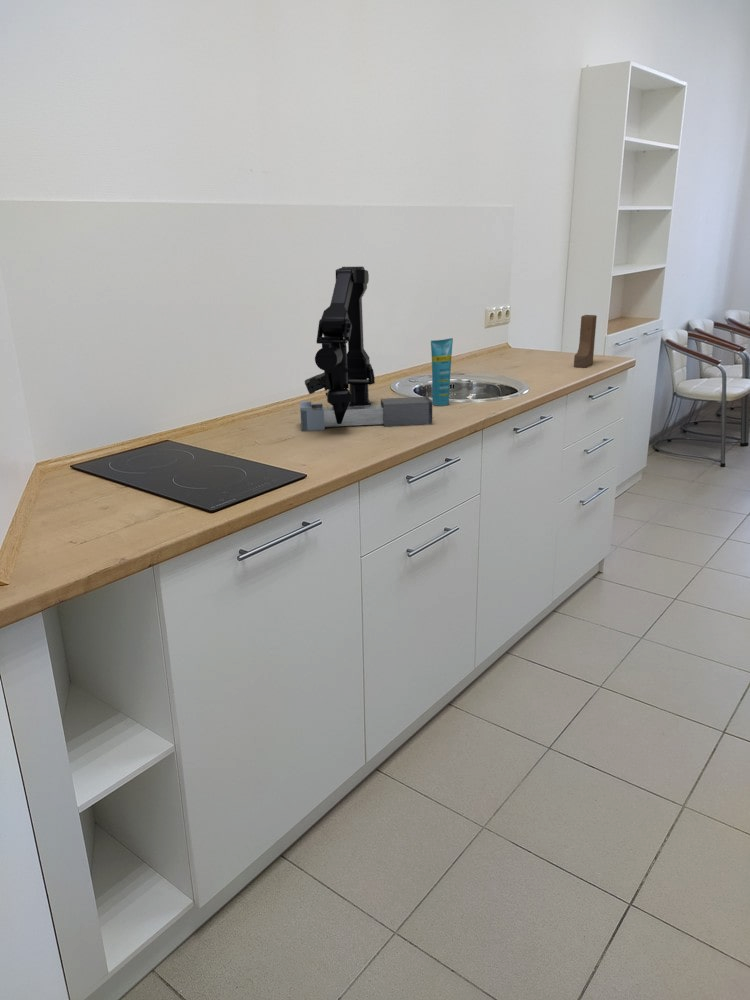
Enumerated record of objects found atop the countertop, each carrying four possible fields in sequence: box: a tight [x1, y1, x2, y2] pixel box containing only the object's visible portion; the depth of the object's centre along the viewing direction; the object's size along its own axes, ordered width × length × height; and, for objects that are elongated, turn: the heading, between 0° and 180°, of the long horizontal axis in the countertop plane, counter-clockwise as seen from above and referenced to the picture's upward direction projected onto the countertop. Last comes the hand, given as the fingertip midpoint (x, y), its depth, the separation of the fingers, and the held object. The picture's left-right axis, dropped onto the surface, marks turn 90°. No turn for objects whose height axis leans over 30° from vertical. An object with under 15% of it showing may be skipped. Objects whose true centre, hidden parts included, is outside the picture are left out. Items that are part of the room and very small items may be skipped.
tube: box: [430, 337, 454, 407], centre depth 216 cm, size 7×5×19 cm, turn 123°
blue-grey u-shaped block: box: [299, 400, 325, 432], centre depth 196 cm, size 8×6×6 cm
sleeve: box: [380, 396, 433, 427], centre depth 199 cm, size 7×13×6 cm, turn 97°
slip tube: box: [312, 404, 384, 428], centre depth 198 cm, size 4×22×4 cm, turn 97°
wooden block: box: [573, 314, 598, 369], centre depth 270 cm, size 9×4×18 cm, turn 147°
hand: (338, 421), depth 198 cm, fingers closed on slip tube, 4 cm apart
